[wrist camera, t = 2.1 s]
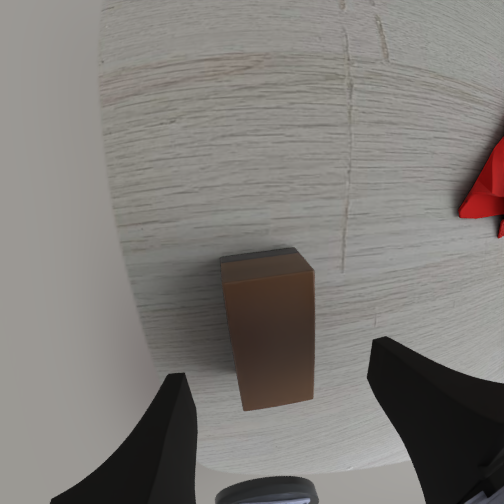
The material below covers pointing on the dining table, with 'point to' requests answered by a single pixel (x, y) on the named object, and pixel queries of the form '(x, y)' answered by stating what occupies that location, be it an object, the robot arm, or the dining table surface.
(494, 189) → the cloth
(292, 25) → the dining table surface
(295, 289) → the eraser
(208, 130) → the dining table surface
